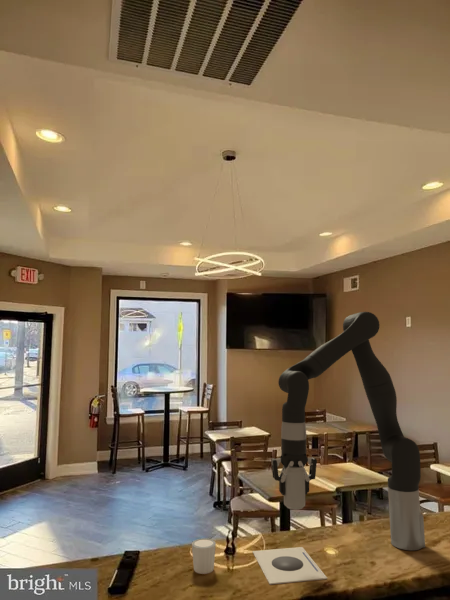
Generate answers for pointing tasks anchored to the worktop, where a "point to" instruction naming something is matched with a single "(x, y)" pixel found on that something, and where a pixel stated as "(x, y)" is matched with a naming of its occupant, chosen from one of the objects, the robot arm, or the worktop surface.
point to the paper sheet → (288, 565)
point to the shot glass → (203, 555)
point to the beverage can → (295, 488)
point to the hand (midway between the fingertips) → (294, 494)
